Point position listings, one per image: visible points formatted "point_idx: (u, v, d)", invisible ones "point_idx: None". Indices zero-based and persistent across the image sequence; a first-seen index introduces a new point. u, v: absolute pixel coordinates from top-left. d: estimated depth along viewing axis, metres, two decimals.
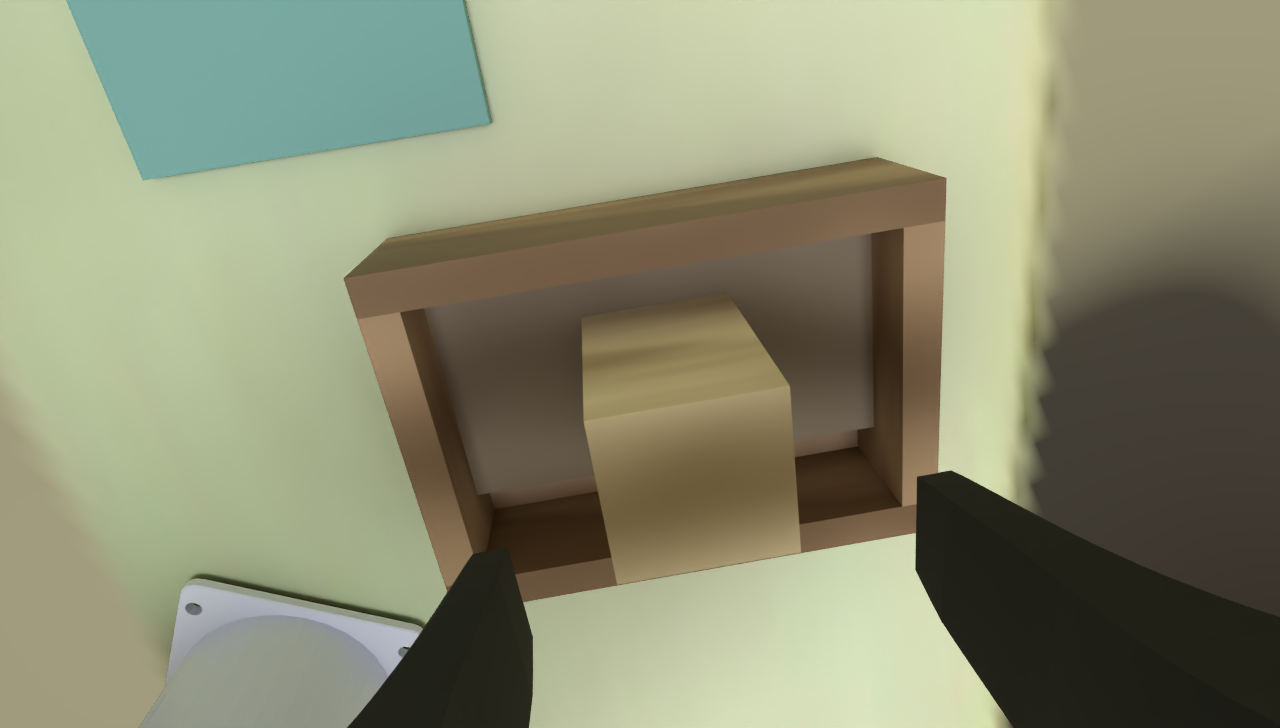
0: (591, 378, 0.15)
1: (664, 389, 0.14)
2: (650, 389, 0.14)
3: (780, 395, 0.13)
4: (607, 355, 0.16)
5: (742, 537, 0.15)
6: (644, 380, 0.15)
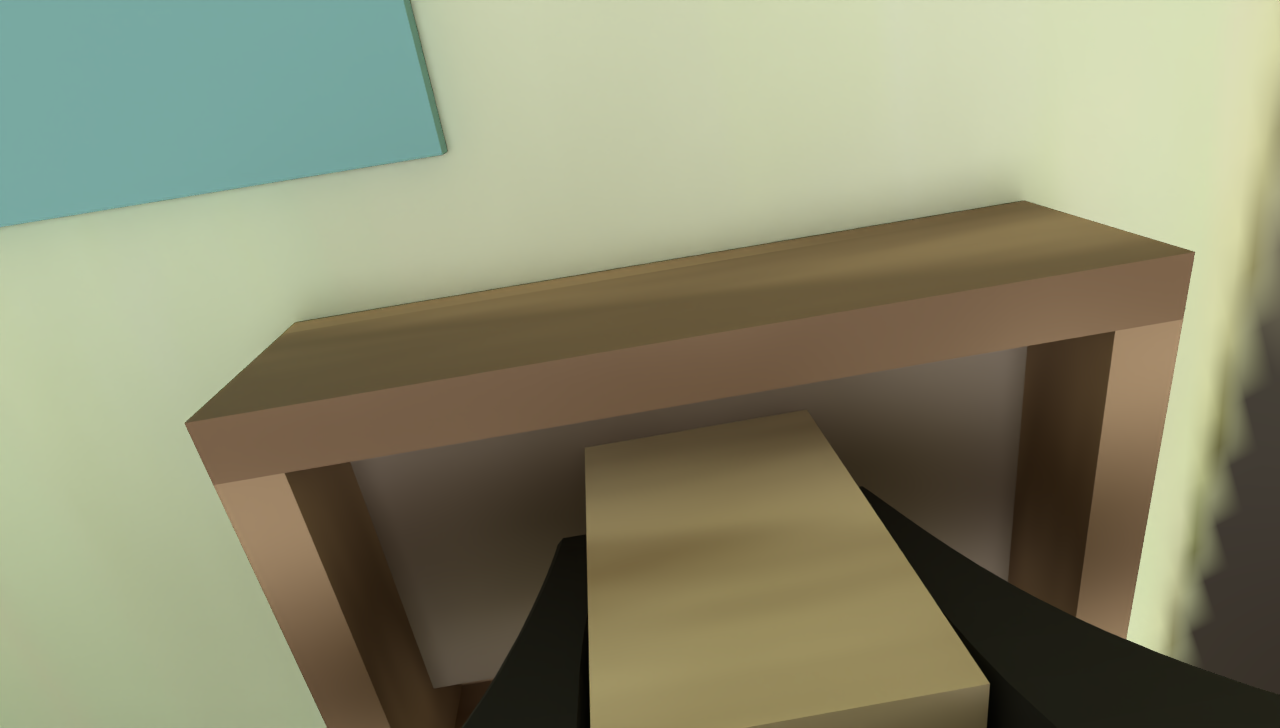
0: (603, 611, 0.09)
1: (739, 662, 0.08)
2: (712, 660, 0.08)
3: (969, 698, 0.07)
4: (628, 548, 0.10)
5: None
6: (699, 629, 0.08)
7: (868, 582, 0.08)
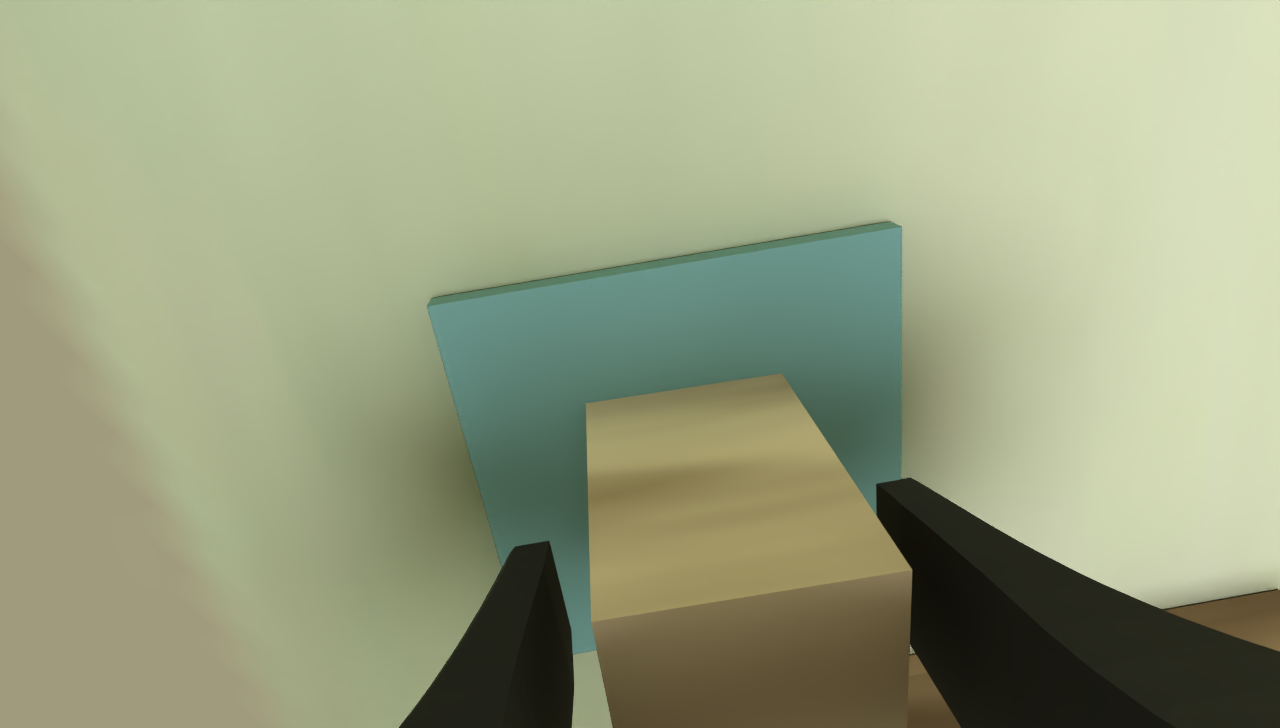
0: (601, 525, 0.10)
1: (713, 559, 0.09)
2: (690, 557, 0.09)
3: (896, 582, 0.09)
4: (622, 478, 0.11)
5: None
6: (681, 536, 0.10)
7: (822, 502, 0.10)
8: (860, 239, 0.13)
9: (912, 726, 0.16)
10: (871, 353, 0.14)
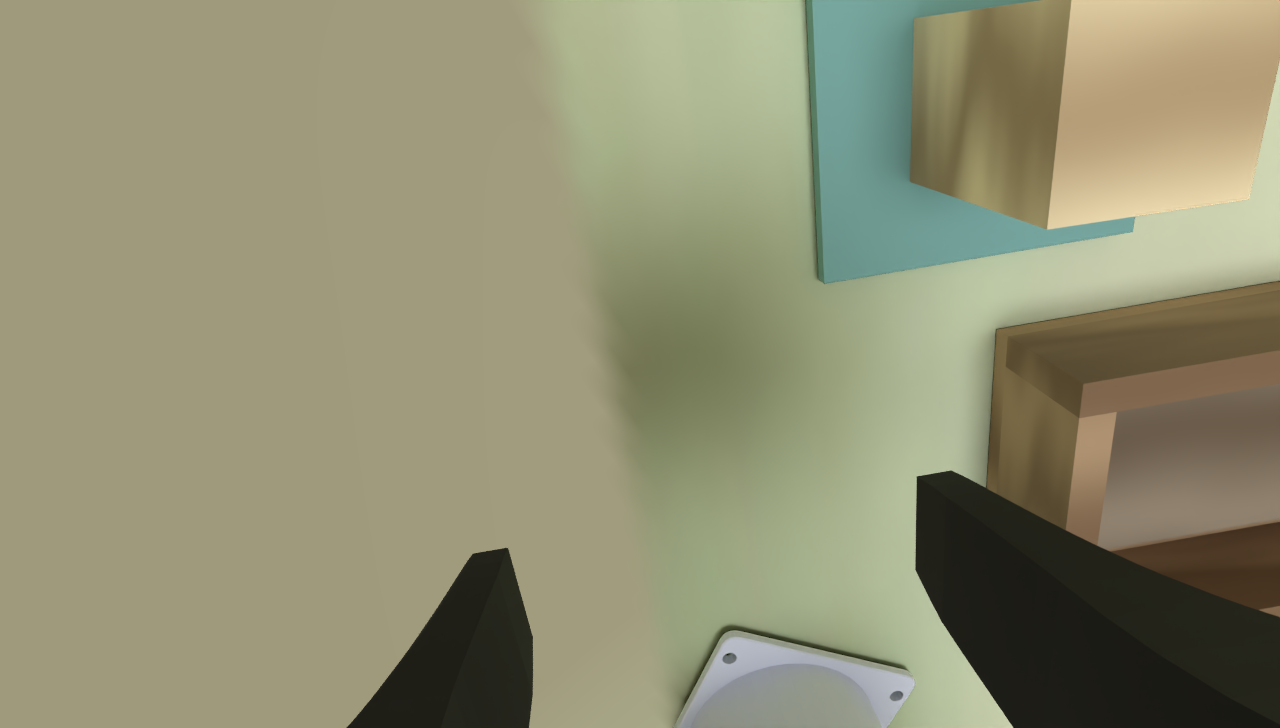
0: None
1: None
2: None
3: None
4: None
5: (1194, 173, 0.13)
6: None
7: None
8: None
9: (1146, 334, 0.20)
10: None
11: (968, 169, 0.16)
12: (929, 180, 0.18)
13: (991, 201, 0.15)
